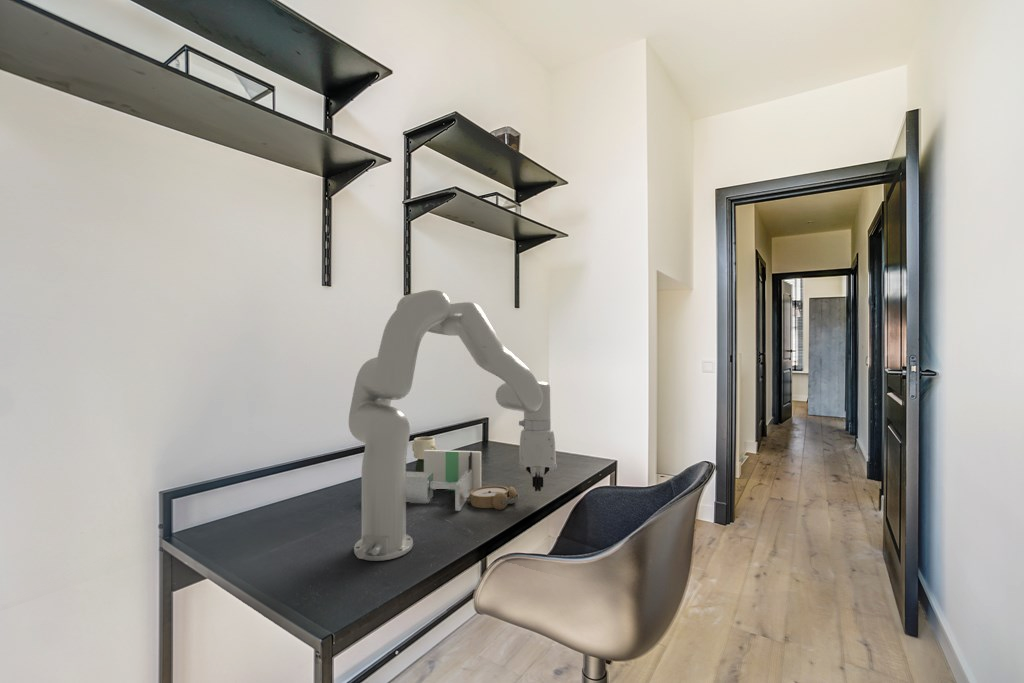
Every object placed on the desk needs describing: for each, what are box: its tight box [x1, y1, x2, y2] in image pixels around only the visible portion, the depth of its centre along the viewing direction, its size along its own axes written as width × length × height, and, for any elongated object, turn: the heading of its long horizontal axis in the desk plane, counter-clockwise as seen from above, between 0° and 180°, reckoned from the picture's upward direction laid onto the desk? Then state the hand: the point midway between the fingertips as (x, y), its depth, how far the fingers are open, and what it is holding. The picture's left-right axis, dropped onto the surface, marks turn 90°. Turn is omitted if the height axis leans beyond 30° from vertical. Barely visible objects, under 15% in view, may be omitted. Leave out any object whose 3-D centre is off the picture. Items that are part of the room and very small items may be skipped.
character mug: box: [411, 436, 438, 472], centre depth 158 cm, size 11×7×13 cm, turn 57°
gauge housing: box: [406, 471, 434, 504], centre depth 135 cm, size 6×13×7 cm, turn 83°
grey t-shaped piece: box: [429, 456, 472, 512], centre depth 134 cm, size 17×11×11 cm, turn 173°
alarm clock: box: [467, 485, 520, 511], centre depth 132 cm, size 11×5×15 cm
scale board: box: [424, 449, 482, 491], centre depth 144 cm, size 1×18×12 cm, turn 83°
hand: (538, 489), depth 131 cm, fingers closed
